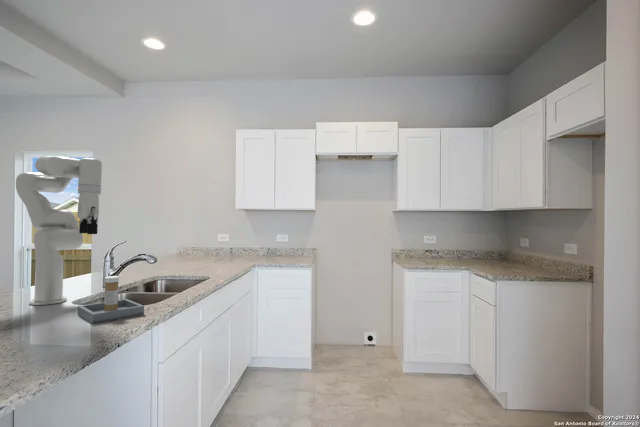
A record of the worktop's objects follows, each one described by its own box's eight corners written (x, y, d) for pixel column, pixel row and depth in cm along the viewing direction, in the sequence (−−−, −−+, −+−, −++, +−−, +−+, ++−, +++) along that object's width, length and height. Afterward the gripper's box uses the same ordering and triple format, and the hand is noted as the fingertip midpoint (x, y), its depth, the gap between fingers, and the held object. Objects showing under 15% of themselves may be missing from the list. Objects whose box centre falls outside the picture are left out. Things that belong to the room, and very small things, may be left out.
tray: (77, 314, 129) (77, 306, 129) (126, 306, 142) (126, 298, 142) (92, 323, 118) (92, 314, 118) (143, 314, 131) (144, 305, 131)
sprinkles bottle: (107, 310, 132) (108, 275, 132) (120, 310, 132) (121, 275, 133) (101, 314, 127) (102, 277, 128) (114, 313, 128) (115, 277, 128)
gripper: (71, 190, 138) (70, 233, 137) (85, 188, 127) (83, 234, 126) (93, 191, 144) (91, 232, 143) (108, 189, 132) (106, 234, 132)
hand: (88, 233), depth 135 cm, fingers open, 9 cm apart
